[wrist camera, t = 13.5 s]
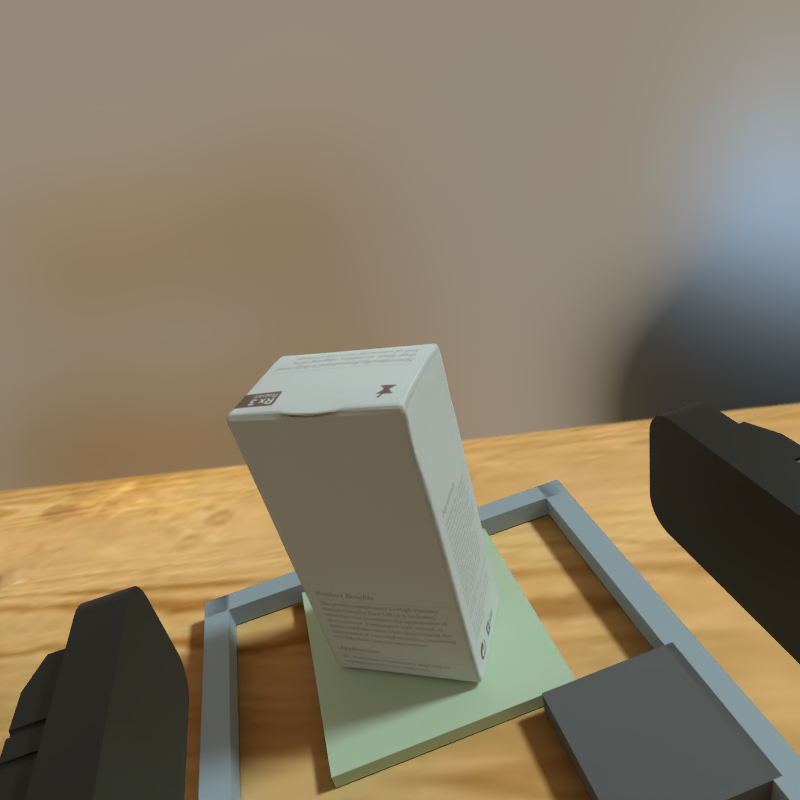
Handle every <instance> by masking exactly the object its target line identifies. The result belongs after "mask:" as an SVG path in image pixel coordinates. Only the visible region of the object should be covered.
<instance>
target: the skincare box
mask: <svg viewBox="0 0 800 800" xmlns="http://www.w3.org/2000/svg"><path fill="white" fill-rule="evenodd" d="M227 422H228V425H229V427H230V429H231V431H232V433H233V436H234V438H235V440H236V442H237V444H238V446H239V448H240V450H241V453H242V455H243V457H244V459H245V461H246V464H247V466H248V468H249V470H250V472H251V474H252V477H253V479H254V481H255V483H256V485H257V487H258V490H259V492H260V494H261V496H262V498H263V501H264V503H265V505H266V507H267V509H268V512H269V514H270V516H271V518H272V520H273V523H274V525H275V527H276V529H277V531H278V534H279V536H280V538H281V540H282V542H283V545H284V547H285V549H286V551H287V553H288V556H289V558H290V560H291V562H292V564H293V567H294V569H295V571H296V573H297V576H298V578H299V580H300V582H301V584H302V586H303V589H304V591H305V593H306V595H307V597H308V600H309V602H310V604H311V606H312V608H313V610H314V613H315V615H316V617H317V619H318V621H319V624H320V626H321V628H322V630H323V633H324V635H325V637H326V639H327V642H328V644H329V646H330V649H331V651H332V653H333V655H334V657H335V659H336V662H337V663H338V665H340V666H343V667H352V668H362V669H370V670H379V671H388V672H396V673H405V674H413V675H421V676H429V677H437V678H446V679H454V680H463V681H472V682H481V681H482V679H483V676H484V671H485V666H486V661H487V656H488V652H489V647H490V642H491V637H492V633H493V628H494V623H495V618H496V613H497V608H498V603H499V596H498V592H497V588H496V585H495V581H494V577H493V573H492V569H491V564H490V559H489V555H488V551H487V546H486V542H485V538H484V535H483V530H482V526H481V522H480V518H479V513H478V509H477V505H476V500H475V496H474V492H473V488H472V484H471V480H470V476H469V471H468V467H467V463H466V459H465V454H464V450H463V445H462V442H461V438H460V434H459V430H458V425H457V420H456V416H455V413H454V409H453V405H452V402H451V398H450V394H449V389H448V384H447V379H446V375H445V371H444V366H443V362H442V358H441V354H440V350H439V348H438V346H437V345H436V344H426V345H415V346H403V347H390V348H378V349H367V350H355V351H344V352H332V353H319V354H308V355H294V356H283V357H281V358H280V359H279V360H278V361H277V362H276V363H275V364H274V365H273V366H272V367H271V368H270V369H269V370H268V371H267V372H266V373H265V374H264V376H263V377H262V378H261V379H260V380H259V381H258V382H257V383H256V385H255V386H254V387H253V388H252V389H251V390H250V391H249V393H248V394H247V395H246V396H245V397H244V398H243V399H242V401H241V402H240V403H239V404H238V405H237V406H236V407H235V408H234V409H233V410H232V411H231V412H230V413H229V415H228V417H227Z"/></svg>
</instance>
